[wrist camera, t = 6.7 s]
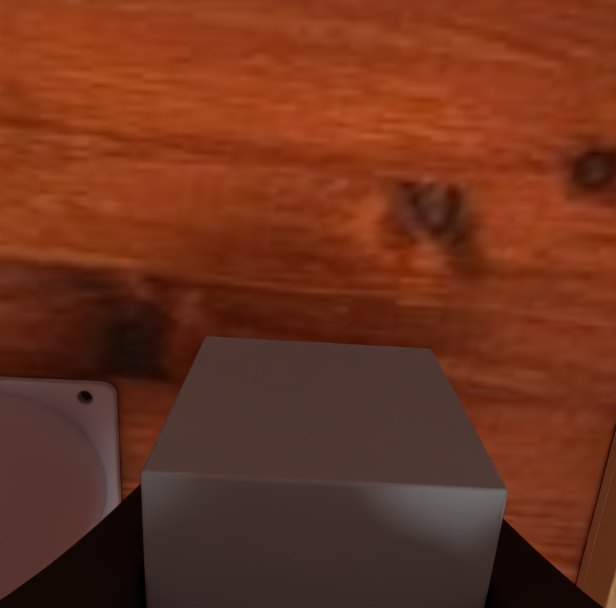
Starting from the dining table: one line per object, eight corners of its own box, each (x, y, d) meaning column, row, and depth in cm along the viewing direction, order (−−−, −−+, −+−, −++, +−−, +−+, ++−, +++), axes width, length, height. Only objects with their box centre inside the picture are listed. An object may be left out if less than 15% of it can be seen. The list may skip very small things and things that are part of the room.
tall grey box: (204, 601, 12) (154, 836, 8) (205, 334, 10) (139, 472, 6) (395, 610, 12) (437, 847, 8) (432, 347, 10) (510, 492, 6)
